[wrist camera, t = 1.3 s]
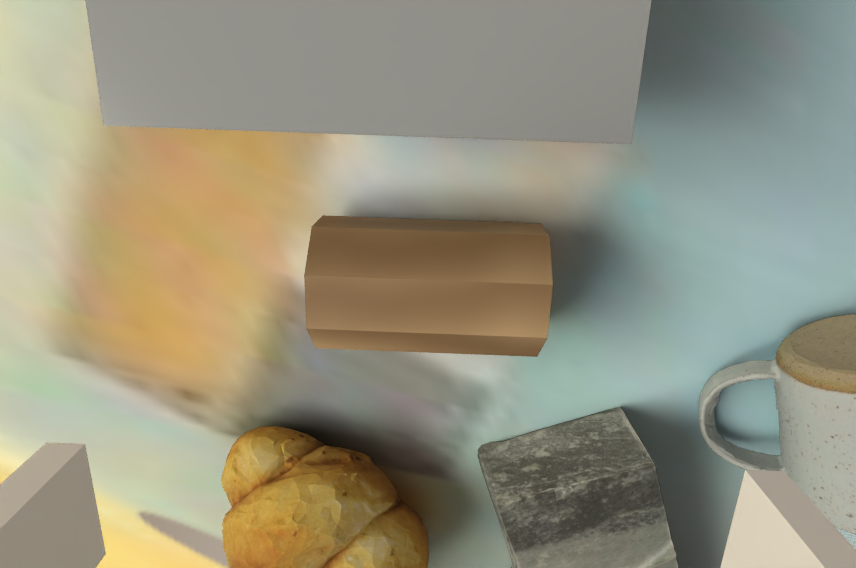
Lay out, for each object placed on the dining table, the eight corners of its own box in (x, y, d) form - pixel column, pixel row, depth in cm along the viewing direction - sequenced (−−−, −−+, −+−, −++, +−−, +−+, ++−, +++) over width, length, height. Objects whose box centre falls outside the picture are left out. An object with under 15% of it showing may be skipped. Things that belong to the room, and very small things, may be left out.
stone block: (527, 627, 36) (540, 712, 31) (463, 441, 32) (466, 505, 27) (668, 598, 35) (705, 681, 30) (621, 401, 31) (655, 460, 26)
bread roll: (200, 438, 32) (125, 546, 24) (351, 370, 30) (321, 462, 23) (315, 598, 35) (281, 736, 28) (455, 545, 34) (460, 674, 26)
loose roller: (524, 323, 29) (543, 373, 24) (331, 315, 29) (307, 364, 24) (534, 216, 28) (557, 244, 22) (329, 208, 28) (303, 235, 22)
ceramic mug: (890, 288, 28) (1043, 356, 21) (902, 424, 31) (1043, 528, 23) (675, 347, 30) (748, 430, 22) (703, 473, 32) (777, 585, 25)
